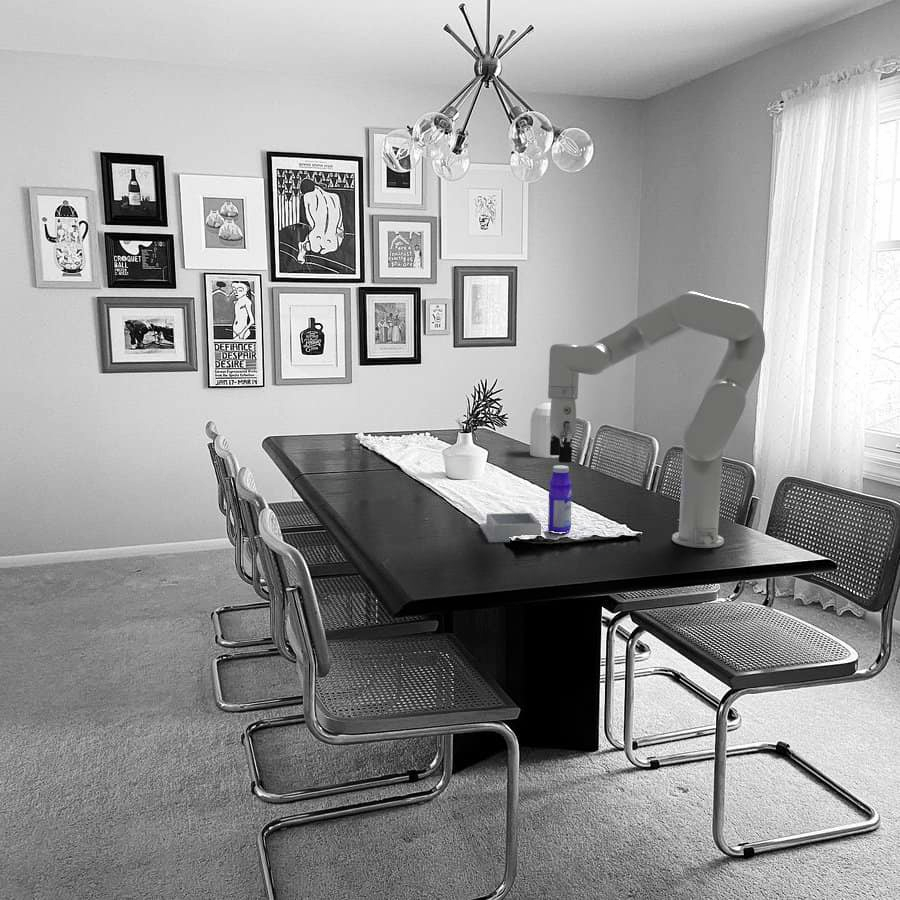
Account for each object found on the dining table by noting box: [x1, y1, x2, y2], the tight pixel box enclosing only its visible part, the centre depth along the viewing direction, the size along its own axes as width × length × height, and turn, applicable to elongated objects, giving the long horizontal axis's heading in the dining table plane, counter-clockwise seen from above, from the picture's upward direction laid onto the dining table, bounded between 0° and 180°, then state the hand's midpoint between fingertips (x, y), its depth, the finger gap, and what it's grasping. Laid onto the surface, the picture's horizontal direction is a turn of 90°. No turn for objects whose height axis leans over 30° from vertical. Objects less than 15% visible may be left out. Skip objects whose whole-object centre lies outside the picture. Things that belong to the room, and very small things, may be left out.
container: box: [529, 402, 564, 459], centre depth 352 cm, size 14×13×20 cm
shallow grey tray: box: [479, 512, 542, 543], centre depth 239 cm, size 15×15×4 cm
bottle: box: [547, 464, 573, 533], centre depth 240 cm, size 7×6×17 cm
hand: (560, 458), depth 239 cm, fingers open, 9 cm apart
